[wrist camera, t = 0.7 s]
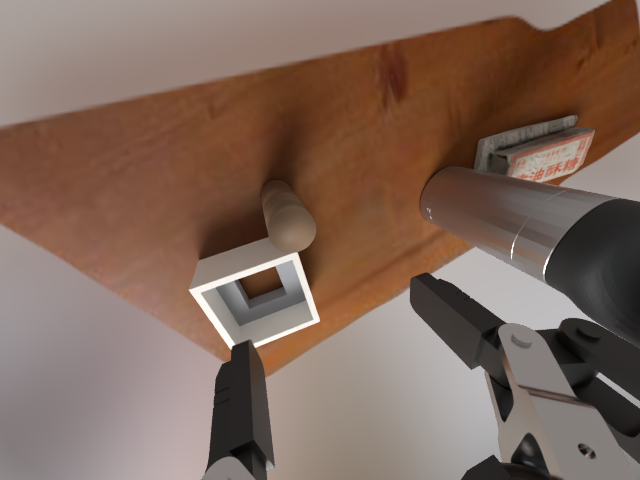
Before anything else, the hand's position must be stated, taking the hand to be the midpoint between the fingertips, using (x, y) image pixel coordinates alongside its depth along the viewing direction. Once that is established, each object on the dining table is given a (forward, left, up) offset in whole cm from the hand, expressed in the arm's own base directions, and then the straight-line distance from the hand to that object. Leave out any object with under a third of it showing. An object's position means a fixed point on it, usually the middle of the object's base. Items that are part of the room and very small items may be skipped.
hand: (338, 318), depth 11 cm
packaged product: (-39, +6, -21) cm, 45 cm away
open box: (+6, +11, -21) cm, 24 cm away
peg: (0, 0, -21) cm, 21 cm away
